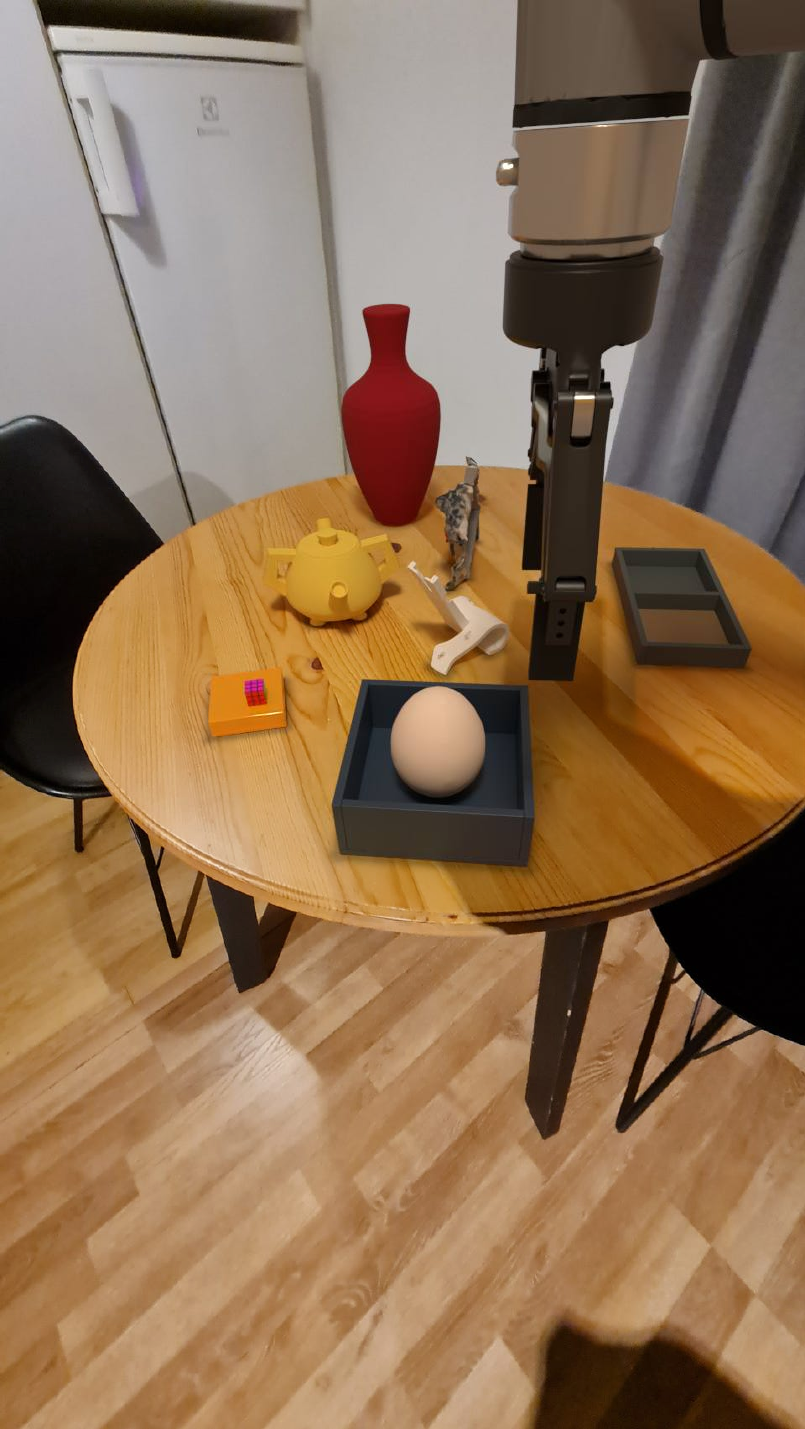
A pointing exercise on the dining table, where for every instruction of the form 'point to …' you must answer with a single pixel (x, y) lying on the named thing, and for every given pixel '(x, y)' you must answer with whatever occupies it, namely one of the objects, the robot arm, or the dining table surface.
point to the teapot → (331, 573)
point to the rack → (677, 609)
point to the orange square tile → (247, 702)
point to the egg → (438, 742)
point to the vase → (391, 422)
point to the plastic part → (461, 624)
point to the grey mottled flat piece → (461, 522)
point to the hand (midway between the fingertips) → (544, 617)
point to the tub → (432, 828)
